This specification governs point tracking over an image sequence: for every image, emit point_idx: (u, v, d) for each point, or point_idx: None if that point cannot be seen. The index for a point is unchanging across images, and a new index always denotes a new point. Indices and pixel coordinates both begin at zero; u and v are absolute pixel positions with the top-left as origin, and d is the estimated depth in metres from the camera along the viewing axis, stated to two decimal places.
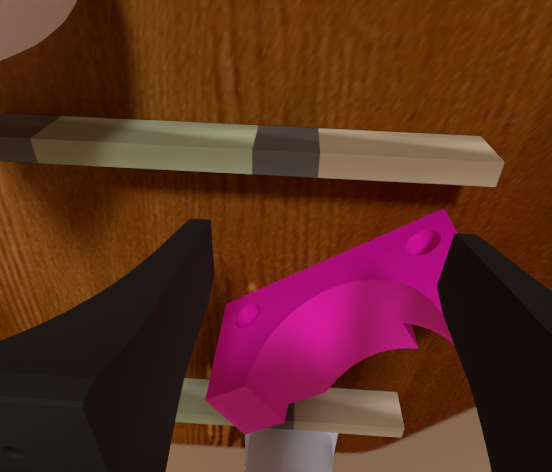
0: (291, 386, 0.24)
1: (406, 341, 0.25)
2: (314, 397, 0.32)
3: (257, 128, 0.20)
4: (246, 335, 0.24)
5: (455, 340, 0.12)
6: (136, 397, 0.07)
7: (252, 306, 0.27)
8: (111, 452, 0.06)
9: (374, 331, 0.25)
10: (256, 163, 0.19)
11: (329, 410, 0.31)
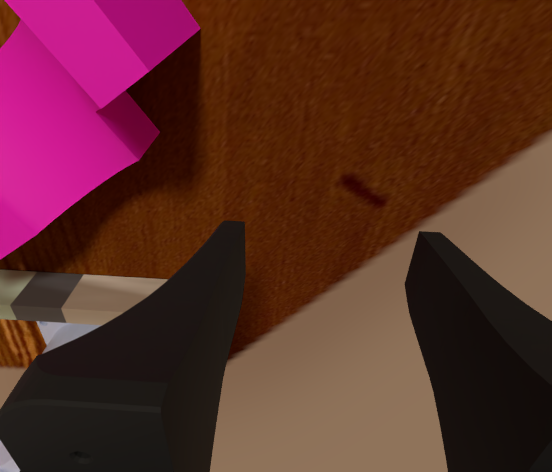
0: None
1: (122, 151, 0.18)
2: (101, 286, 0.26)
3: None
4: None
5: (419, 338, 0.12)
6: (193, 401, 0.07)
7: None
8: (177, 456, 0.06)
9: (81, 141, 0.18)
10: None
11: (112, 298, 0.25)
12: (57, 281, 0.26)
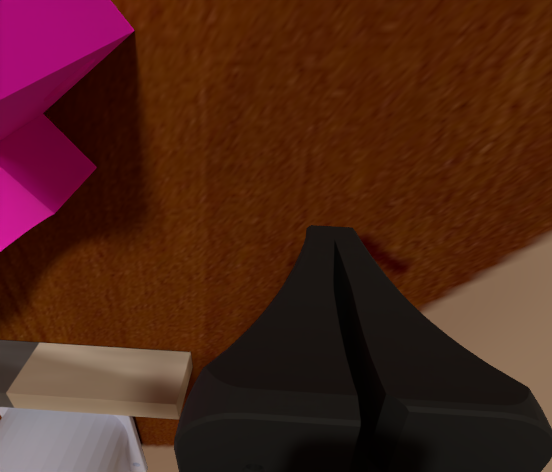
0: None
1: (32, 201, 0.13)
2: (59, 359, 0.21)
3: None
4: None
5: None
6: None
7: None
8: (344, 468, 0.06)
9: None
10: None
11: (71, 377, 0.20)
12: (6, 353, 0.21)
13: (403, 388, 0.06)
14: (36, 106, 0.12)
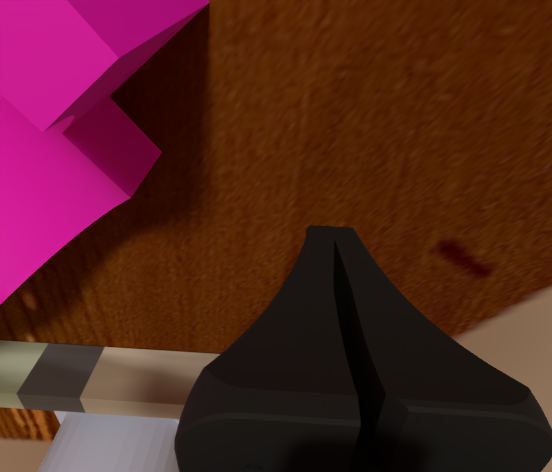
0: None
1: (107, 186, 0.13)
2: (127, 363, 0.21)
3: None
4: None
5: None
6: None
7: None
8: (344, 468, 0.06)
9: (50, 175, 0.13)
10: None
11: (142, 382, 0.20)
12: (73, 357, 0.21)
13: (403, 388, 0.06)
14: (117, 82, 0.11)
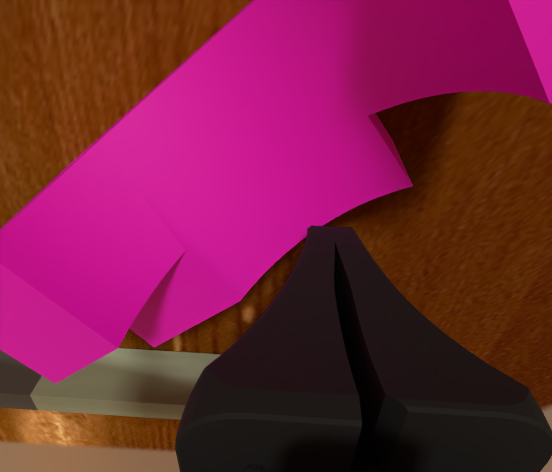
0: (147, 279, 0.12)
1: (387, 173, 0.12)
2: None
3: None
4: None
5: None
6: None
7: None
8: (345, 468, 0.06)
9: (318, 162, 0.12)
10: None
11: None
12: None
13: (402, 388, 0.06)
14: None
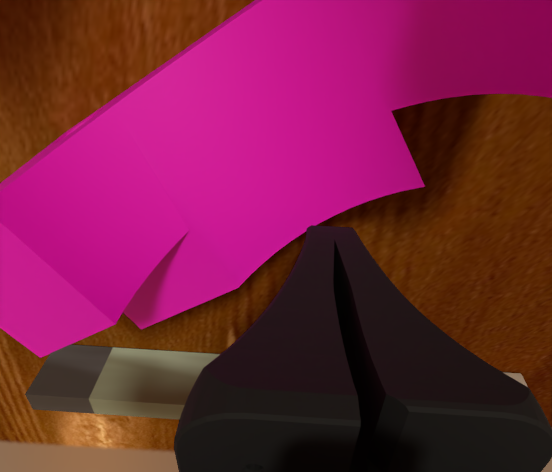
0: (148, 256, 0.11)
1: (401, 171, 0.12)
2: None
3: None
4: (54, 145, 0.11)
5: None
6: None
7: None
8: (344, 468, 0.06)
9: (333, 153, 0.12)
10: None
11: None
12: None
13: (403, 388, 0.06)
14: None
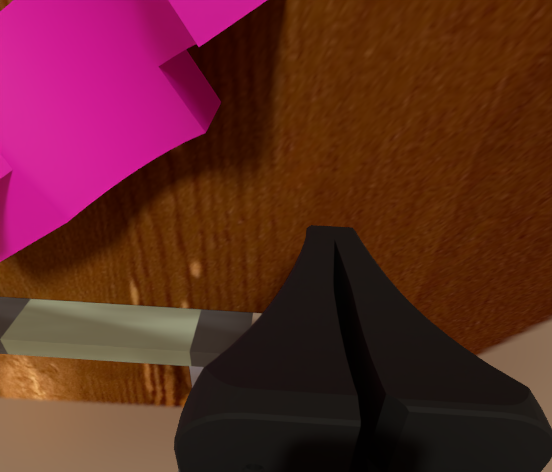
0: None
1: (185, 120, 0.14)
2: None
3: None
4: None
5: None
6: None
7: None
8: (344, 468, 0.06)
9: (133, 106, 0.14)
10: None
11: None
12: (228, 321, 0.23)
13: (403, 388, 0.06)
14: None
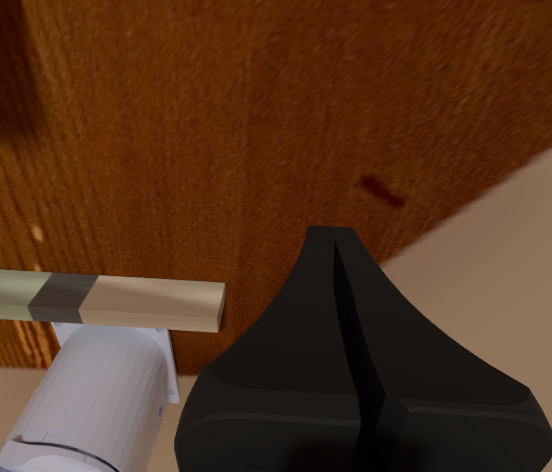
0: None
1: None
2: (117, 287, 0.25)
3: None
4: None
5: None
6: None
7: None
8: (344, 468, 0.06)
9: None
10: None
11: (129, 299, 0.25)
12: (73, 282, 0.26)
13: (402, 388, 0.06)
14: None
